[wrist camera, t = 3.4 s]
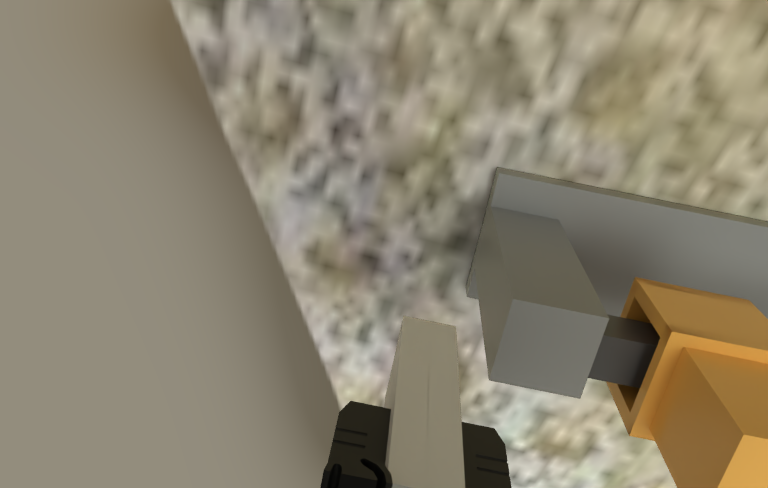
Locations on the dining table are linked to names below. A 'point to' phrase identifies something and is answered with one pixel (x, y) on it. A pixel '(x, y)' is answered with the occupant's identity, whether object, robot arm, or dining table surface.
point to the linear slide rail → (595, 276)
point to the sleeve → (701, 386)
